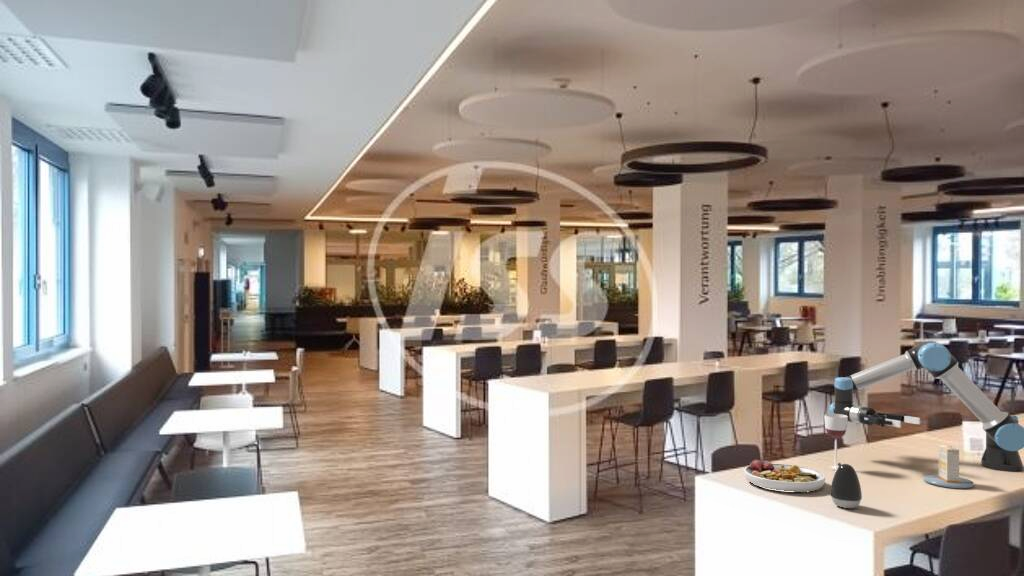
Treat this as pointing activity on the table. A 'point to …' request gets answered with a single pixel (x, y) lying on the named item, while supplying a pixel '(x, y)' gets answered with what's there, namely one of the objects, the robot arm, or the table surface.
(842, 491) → the black egg-shaped piece
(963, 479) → the dish
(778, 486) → the bowl
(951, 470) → the supplement box
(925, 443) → the table surface
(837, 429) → the wineglass
